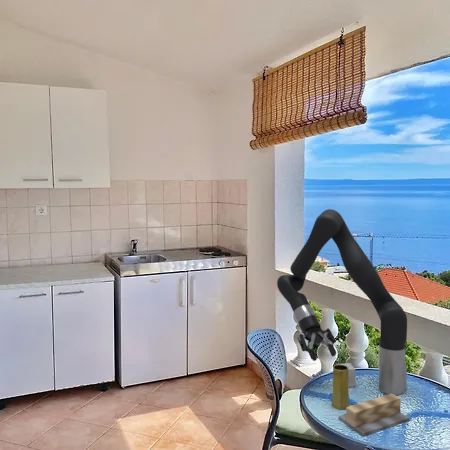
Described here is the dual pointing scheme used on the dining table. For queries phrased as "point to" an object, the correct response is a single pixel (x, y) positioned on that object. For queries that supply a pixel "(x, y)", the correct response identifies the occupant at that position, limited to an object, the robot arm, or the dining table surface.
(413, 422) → the dining table surface
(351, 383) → the skincare box
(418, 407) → the dining table surface
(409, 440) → the dining table surface
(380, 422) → the ridge
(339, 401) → the vase
